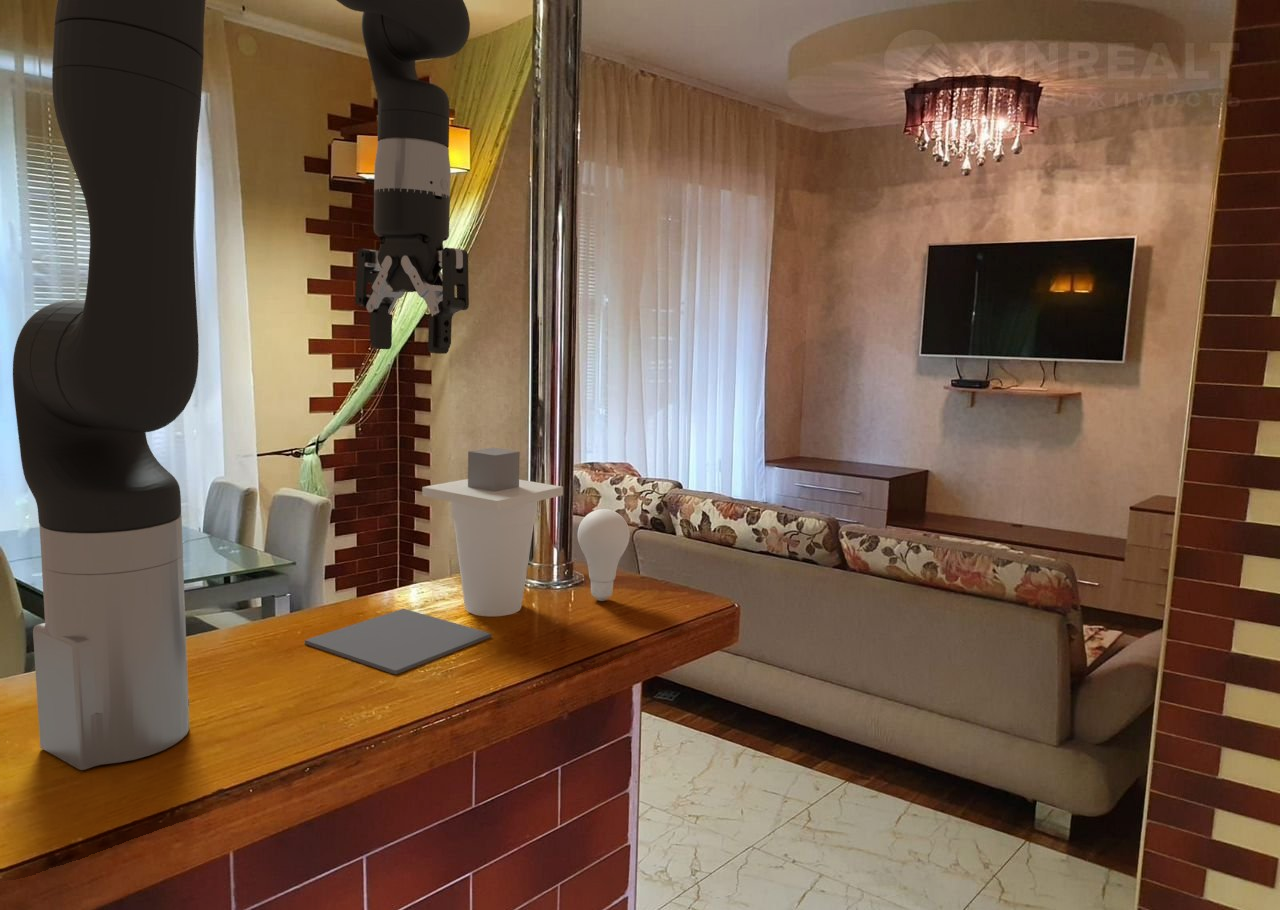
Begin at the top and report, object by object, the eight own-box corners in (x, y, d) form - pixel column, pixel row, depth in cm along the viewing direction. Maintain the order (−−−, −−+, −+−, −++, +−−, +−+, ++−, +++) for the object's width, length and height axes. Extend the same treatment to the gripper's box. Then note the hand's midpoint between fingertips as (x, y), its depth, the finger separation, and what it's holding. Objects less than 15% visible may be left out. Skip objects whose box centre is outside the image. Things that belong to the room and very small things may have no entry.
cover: (496, 510, 98) (497, 462, 97) (422, 495, 104) (422, 451, 103) (562, 495, 107) (563, 451, 106) (490, 482, 113) (491, 441, 112)
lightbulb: (566, 603, 110) (568, 510, 108) (591, 590, 115) (594, 502, 114) (612, 611, 107) (615, 517, 106) (636, 598, 113) (639, 508, 111)
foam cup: (528, 622, 102) (530, 505, 100) (443, 619, 103) (443, 502, 101) (539, 596, 112) (541, 489, 110) (461, 593, 112) (462, 486, 110)
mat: (395, 674, 87) (395, 670, 87) (304, 643, 94) (304, 640, 94) (491, 637, 97) (491, 633, 97) (403, 612, 104) (403, 608, 104)
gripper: (336, 188, 97) (334, 347, 99) (435, 181, 89) (431, 354, 91) (393, 199, 103) (390, 348, 105) (489, 194, 95) (485, 355, 97)
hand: (409, 351), depth 98 cm, fingers open, 8 cm apart
